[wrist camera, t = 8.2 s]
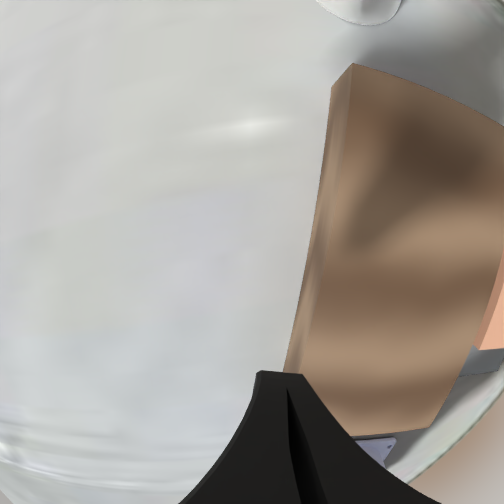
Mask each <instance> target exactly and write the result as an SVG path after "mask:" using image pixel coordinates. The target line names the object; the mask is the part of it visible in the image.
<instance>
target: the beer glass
mask: <svg viewBox="0 0 504 504" xmlns="http://www.w3.org/2000/svg"><path fill="white" fill-rule="evenodd" d="M316 1H317V2H318V3H319V4H320V5H321V6H322V7H323V8H324V9H326V10H327V11H329V12H330V13H332V14H333V15H335V16H337V17H339V18H341V19H343V20H346V21H349V22H352V23H356V24H360V25H378V24H382V23H385V22H387V21H389V20H390V19H391V18H392V17H393V16H394V15H395V13H396V11H397V10H398V7H399V5H400V3H401V1H402V0H316Z"/></svg>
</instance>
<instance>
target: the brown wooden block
mask: <svg viewBox="0 0 504 504" xmlns="http://www.w3.org/2000/svg"><path fill="white" fill-rule="evenodd" d="M503 249H504V126H502V125H500V124H499V123H497V122H495V121H493V120H492V119H490V118H488V117H486V116H485V115H483V114H481V113H479V112H477V111H475V110H473V109H471V108H469V107H467V106H465V105H463V104H461V103H459V102H457V101H455V100H453V99H451V98H449V97H447V96H444V95H442V94H440V93H437V92H435V91H433V90H430V89H428V88H426V87H423V86H421V85H418V84H416V83H413V82H410V81H408V80H405V79H402V78H399V77H396V76H394V75H391V74H388V73H385V72H382V71H378V70H375V69H372V68H369V67H365V66H362V65H358V64H354V63H352V64H351V65H350V66H349V67H348V69H347V70H346V71H345V72H344V73H343V74H342V75H341V77H340V78H339V79H338V80H337V81H336V82H335V84H334V85H333V86H332V88H331V98H330V107H329V116H328V124H327V132H326V140H325V148H324V155H323V163H322V170H321V177H320V183H319V190H318V196H317V203H316V209H315V215H314V221H313V227H312V233H311V239H310V244H309V250H308V255H307V261H306V266H305V271H304V276H303V282H302V287H301V292H300V297H299V301H298V306H297V311H296V316H295V320H294V325H293V330H292V334H291V339H290V343H289V347H288V352H287V356H286V360H285V365H284V369H283V372H285V373H298V374H303V375H304V377H305V378H306V379H307V381H308V382H309V384H310V385H311V387H312V388H313V389H314V391H315V392H316V394H317V395H318V396H319V398H320V399H321V401H322V402H323V403H324V405H325V406H326V407H327V409H328V410H329V411H330V412H331V414H332V415H333V416H334V417H335V419H336V420H337V421H338V422H339V424H340V425H341V426H342V427H343V428H344V430H345V431H346V432H347V433H348V434H349V435H350V436H360V435H374V434H384V433H394V432H402V431H409V430H416V429H422V428H428V427H430V425H431V423H432V422H433V420H434V419H435V417H436V415H437V414H438V412H439V410H440V409H441V407H442V405H443V403H444V402H445V400H446V398H447V396H448V394H449V393H450V391H451V389H452V387H453V385H454V383H455V381H456V379H457V377H458V375H459V373H460V371H461V369H462V367H463V365H464V363H465V361H466V358H467V356H468V354H469V352H470V349H471V347H472V345H473V342H474V340H475V338H476V335H477V333H478V330H479V328H480V325H481V322H482V320H483V317H484V314H485V311H486V309H487V306H488V303H489V300H490V297H491V293H492V290H493V287H494V284H495V280H496V277H497V273H498V269H499V266H500V262H501V258H502V253H503Z"/></svg>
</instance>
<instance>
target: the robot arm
mask: <svg viewBox="0 0 504 504" xmlns="http://www.w3.org/2000/svg"><path fill="white" fill-rule="evenodd" d="M395 443H396V439H395V438H394V437H392V438H383V439H373V440H360V441H354V439H353V438H352V437H351V436H350V435H349V434H348V433H347V432H346V431H345V430H344V428H343V427H342V426H341V425H340V424H339V422H338V421H337V420H336V419H335V417H334V416H333V415H332V414H331V412H330V411H329V410H328V409H327V407H326V406H325V405H324V403H323V402H322V401H321V399H320V398H319V396H318V395H317V394H316V392H315V391H314V389H313V388H312V387H311V385H310V384H309V382H308V381H307V379H306V378H305V377H304V375H303V374H298V373H285V372H274V371H264V370H261V371H259V372H257V373H256V378H255V384H254V389H253V394H252V399H251V401H250V403H249V406H248V408H247V410H246V413H245V415H244V417H243V419H242V421H241V423H240V425H239V426H238V428H237V430H236V432H235V434H234V435H233V437H232V439H231V440H230V442H229V444H228V445H227V447H226V448H225V450H224V451H223V453H222V454H221V456H220V457H219V458H218V460H217V461H216V462H215V464H214V465H213V466H212V468H211V469H210V470H209V471H208V473H207V474H206V475H205V476H204V477H203V478H202V480H201V481H200V482H199V483H198V484H197V485H196V487H195V488H194V489H193V490H192V491H191V492H190V493H189V494H188V495H187V496H186V497H185V498H184V499H183V500H182V501H181V502H180V503H179V504H441V503H439V502H437V501H435V500H433V499H431V498H429V497H427V496H425V495H423V494H422V493H420V492H418V491H417V490H415V489H413V488H412V487H410V486H409V485H407V484H406V483H404V482H403V481H401V480H400V479H398V478H397V477H395V476H394V475H393V474H391V473H390V472H389V471H387V470H386V467H385V464H384V462H383V461H384V460H385V458H386V457H387V455H388V454H389V452H390V451H391V449H392V448H393V446H394V445H395Z"/></svg>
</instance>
